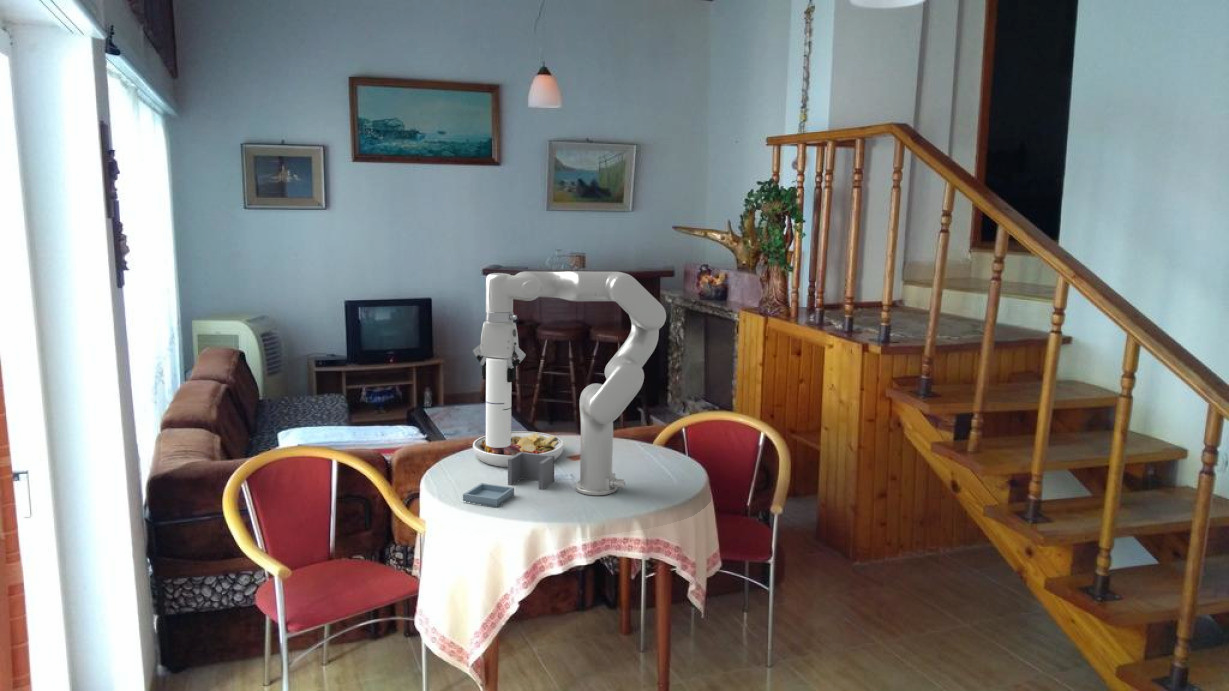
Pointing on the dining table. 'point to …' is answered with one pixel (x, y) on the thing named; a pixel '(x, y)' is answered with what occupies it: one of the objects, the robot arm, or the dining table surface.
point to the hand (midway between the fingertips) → (498, 379)
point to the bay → (531, 468)
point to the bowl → (518, 447)
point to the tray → (488, 495)
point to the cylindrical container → (498, 403)
